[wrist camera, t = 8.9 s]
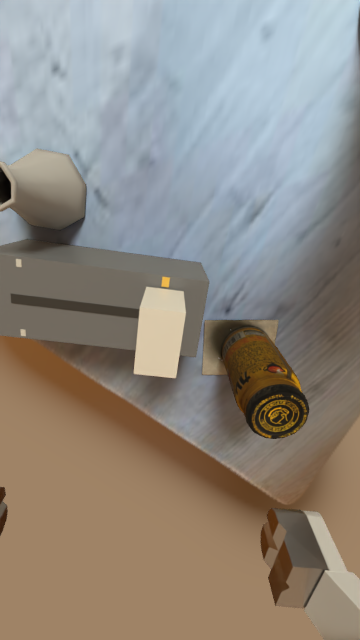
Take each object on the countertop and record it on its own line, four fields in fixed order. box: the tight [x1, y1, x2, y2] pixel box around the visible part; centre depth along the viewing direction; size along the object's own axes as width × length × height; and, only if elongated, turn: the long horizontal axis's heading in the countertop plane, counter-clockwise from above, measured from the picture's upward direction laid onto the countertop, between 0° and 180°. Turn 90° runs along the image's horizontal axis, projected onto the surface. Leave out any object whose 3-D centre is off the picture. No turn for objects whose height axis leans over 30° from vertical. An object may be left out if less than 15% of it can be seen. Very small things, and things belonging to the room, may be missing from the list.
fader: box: [134, 287, 186, 378], centre depth 22 cm, size 3×5×5 cm, turn 172°
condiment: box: [202, 320, 309, 439], centre depth 30 cm, size 7×8×12 cm
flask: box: [0, 149, 86, 230], centre depth 24 cm, size 7×7×10 cm
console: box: [0, 239, 209, 357], centre depth 28 cm, size 18×7×8 cm, turn 82°
